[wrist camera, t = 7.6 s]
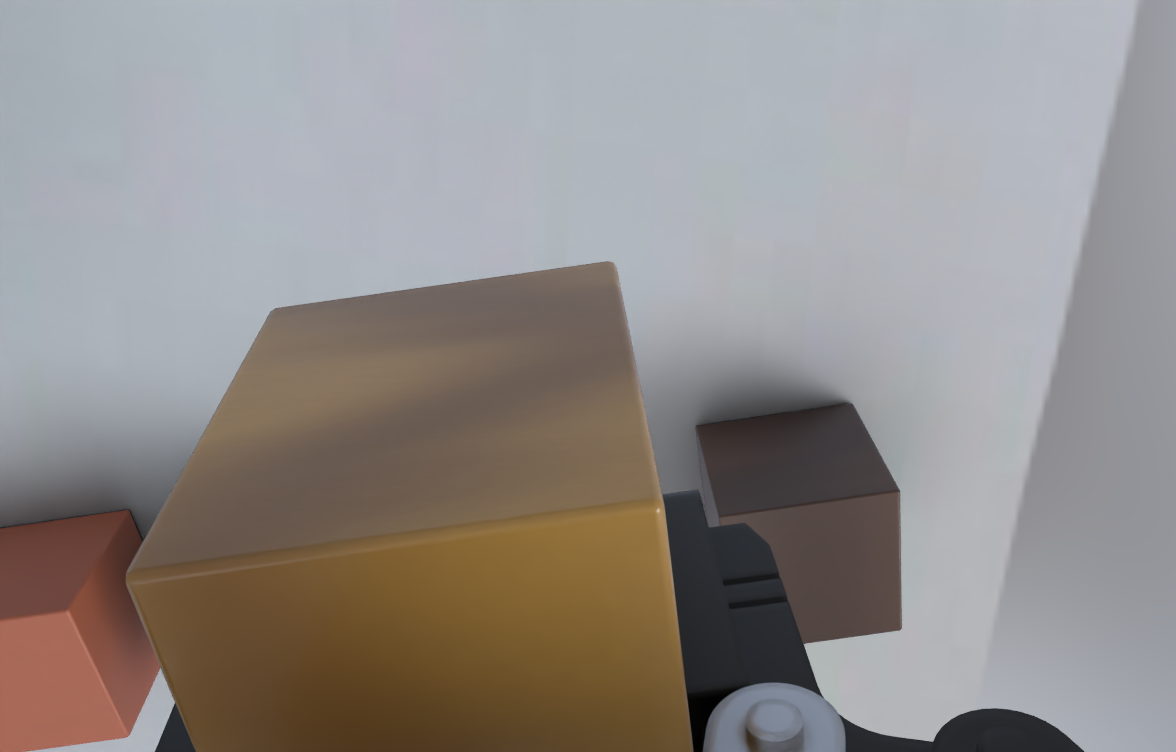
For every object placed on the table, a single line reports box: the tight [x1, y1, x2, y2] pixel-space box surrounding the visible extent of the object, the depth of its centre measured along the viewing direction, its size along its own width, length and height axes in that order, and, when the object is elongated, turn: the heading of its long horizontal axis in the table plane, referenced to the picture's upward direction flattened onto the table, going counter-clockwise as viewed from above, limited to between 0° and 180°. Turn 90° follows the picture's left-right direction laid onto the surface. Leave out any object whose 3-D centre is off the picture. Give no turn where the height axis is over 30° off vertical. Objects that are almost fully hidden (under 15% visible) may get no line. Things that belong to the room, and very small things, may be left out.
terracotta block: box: [0, 510, 160, 752], centre depth 30 cm, size 4×4×4 cm
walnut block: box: [696, 403, 902, 644], centre depth 29 cm, size 4×4×4 cm
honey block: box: [126, 261, 694, 752], centre depth 12 cm, size 4×8×5 cm, turn 7°
